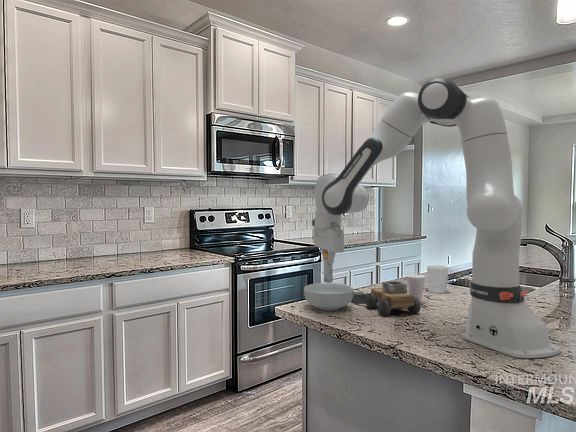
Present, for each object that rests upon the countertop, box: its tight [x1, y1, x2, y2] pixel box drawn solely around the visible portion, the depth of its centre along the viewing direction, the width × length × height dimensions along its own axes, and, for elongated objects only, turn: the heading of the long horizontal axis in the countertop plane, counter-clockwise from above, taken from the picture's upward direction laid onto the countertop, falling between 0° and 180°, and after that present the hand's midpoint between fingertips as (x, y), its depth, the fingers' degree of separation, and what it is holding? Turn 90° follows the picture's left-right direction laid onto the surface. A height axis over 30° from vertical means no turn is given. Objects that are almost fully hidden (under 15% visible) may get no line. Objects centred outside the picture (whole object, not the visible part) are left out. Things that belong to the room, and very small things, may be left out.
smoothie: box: [406, 263, 426, 305], centre depth 143 cm, size 6×6×14 cm
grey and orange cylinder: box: [323, 252, 334, 283], centre depth 137 cm, size 3×3×10 cm
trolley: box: [365, 280, 422, 316], centre depth 134 cm, size 14×13×9 cm
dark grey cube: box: [351, 291, 367, 305], centre depth 144 cm, size 4×4×4 cm
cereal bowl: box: [303, 282, 355, 312], centre depth 137 cm, size 17×17×7 cm
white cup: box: [426, 264, 449, 294], centre depth 160 cm, size 8×8×10 cm
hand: (328, 262), depth 137 cm, fingers closed on grey and orange cylinder, 3 cm apart
